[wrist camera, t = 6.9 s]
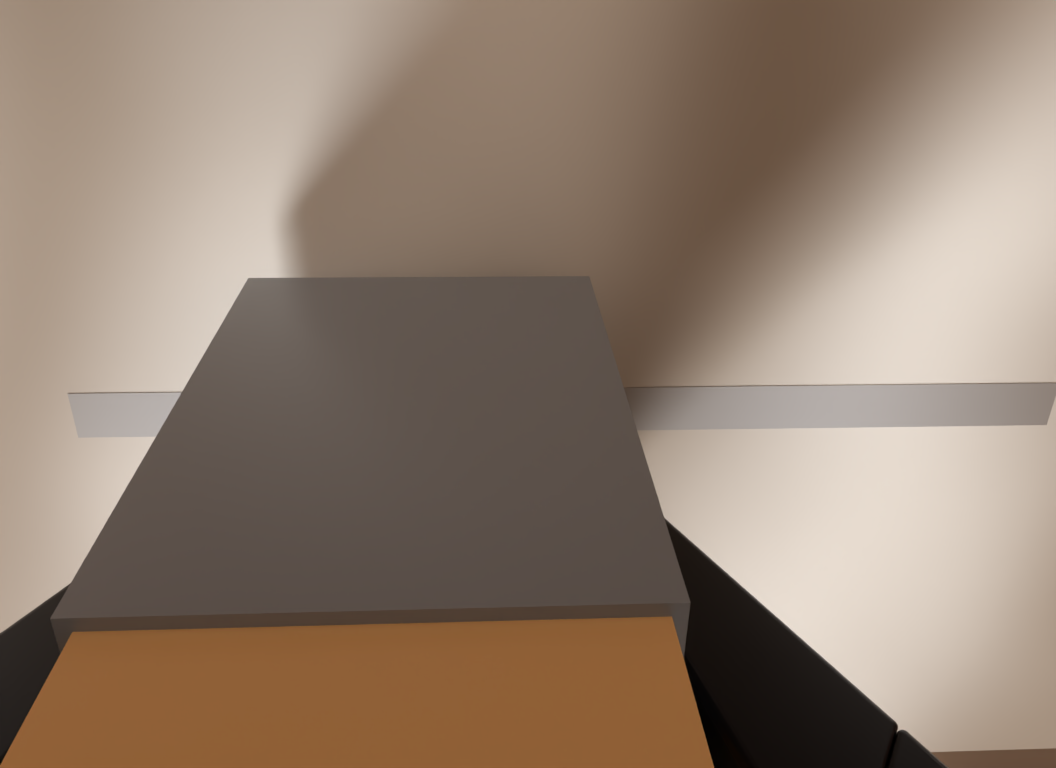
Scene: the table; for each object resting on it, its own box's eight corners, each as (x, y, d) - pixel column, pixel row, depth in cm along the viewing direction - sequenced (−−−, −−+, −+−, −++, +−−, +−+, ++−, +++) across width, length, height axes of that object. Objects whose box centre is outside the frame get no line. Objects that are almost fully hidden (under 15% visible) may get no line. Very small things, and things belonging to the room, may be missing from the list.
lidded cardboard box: (589, 276, 10) (750, 796, 4) (575, 546, 12) (678, 1181, 6) (248, 277, 10) (-70, 826, 4) (285, 552, 11) (97, 1216, 6)
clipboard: (1718, -255, 9) (1899, -277, 8) (1211, 752, 16) (1270, 820, 14) (-428, -307, 8) (-577, -340, 7) (-15, 789, 15) (-57, 866, 13)
